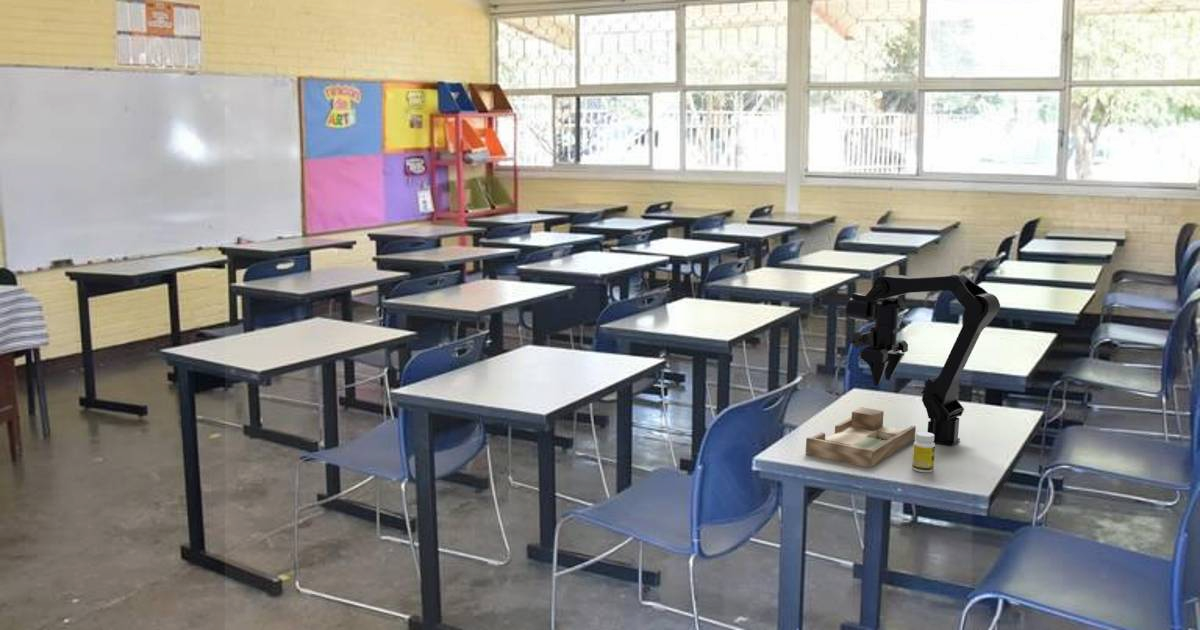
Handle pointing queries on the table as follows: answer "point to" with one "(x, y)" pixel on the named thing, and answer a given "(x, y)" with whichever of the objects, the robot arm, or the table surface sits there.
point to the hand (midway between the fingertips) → (882, 382)
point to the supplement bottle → (923, 452)
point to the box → (859, 443)
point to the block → (867, 419)
